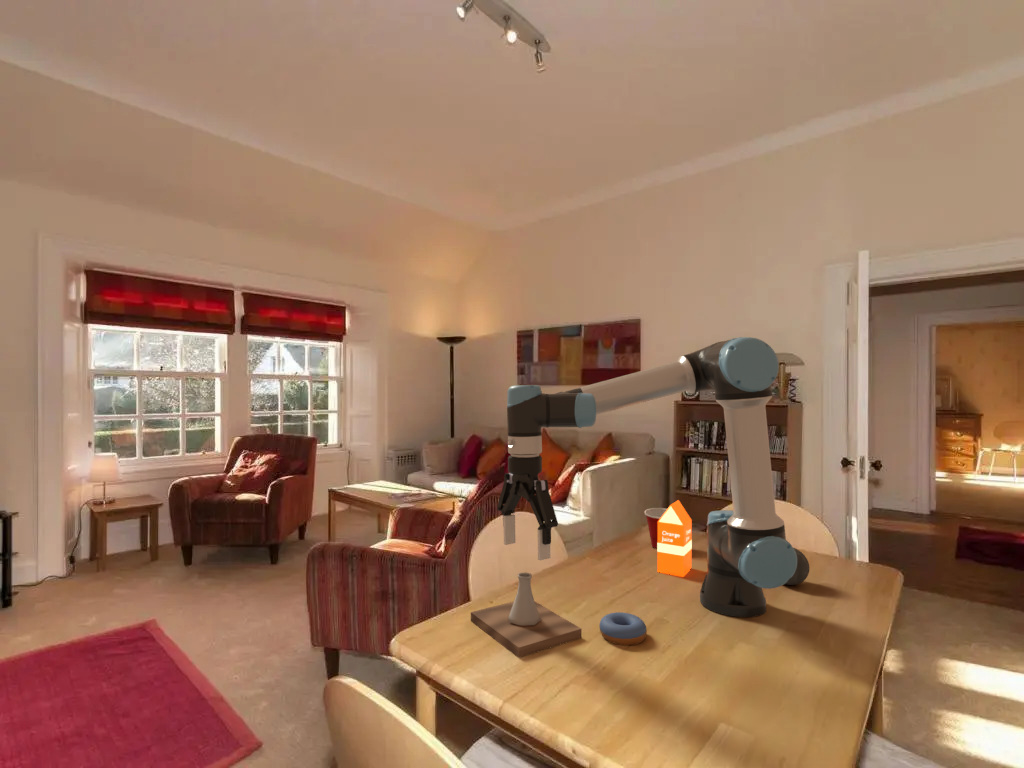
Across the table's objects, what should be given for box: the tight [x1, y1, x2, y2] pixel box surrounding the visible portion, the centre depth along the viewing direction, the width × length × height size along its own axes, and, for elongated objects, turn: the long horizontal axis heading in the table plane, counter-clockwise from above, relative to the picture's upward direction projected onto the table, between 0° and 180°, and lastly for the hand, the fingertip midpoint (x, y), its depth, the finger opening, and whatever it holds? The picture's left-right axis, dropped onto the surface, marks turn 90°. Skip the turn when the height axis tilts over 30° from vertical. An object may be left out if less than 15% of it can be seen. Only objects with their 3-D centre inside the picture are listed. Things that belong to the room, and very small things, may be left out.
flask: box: [509, 572, 540, 626], centre depth 121 cm, size 7×7×10 cm
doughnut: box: [599, 611, 648, 646], centre depth 118 cm, size 10×10×5 cm
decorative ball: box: [784, 547, 810, 586], centre depth 150 cm, size 10×10×10 cm
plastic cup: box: [644, 507, 668, 550], centre depth 183 cm, size 11×11×12 cm
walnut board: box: [470, 601, 582, 659], centre depth 121 cm, size 20×16×2 cm
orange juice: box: [656, 499, 693, 578], centre depth 160 cm, size 8×9×20 cm
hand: (526, 551), depth 121 cm, fingers open, 13 cm apart
